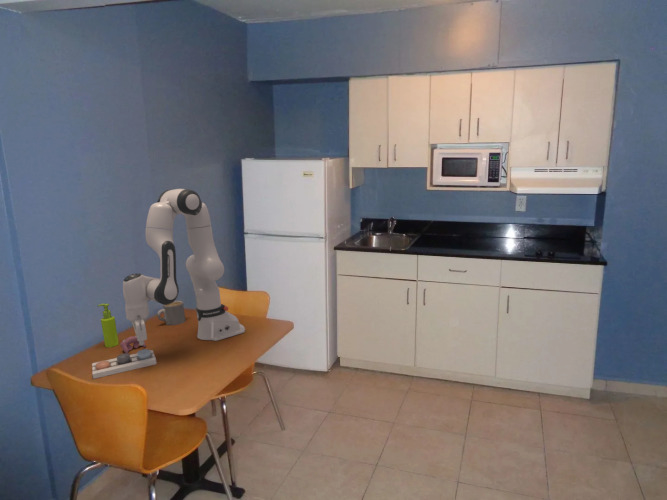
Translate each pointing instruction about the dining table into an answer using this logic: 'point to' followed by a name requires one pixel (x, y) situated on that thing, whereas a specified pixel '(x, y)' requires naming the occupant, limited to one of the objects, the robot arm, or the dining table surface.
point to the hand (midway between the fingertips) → (141, 344)
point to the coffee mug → (173, 313)
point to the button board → (124, 367)
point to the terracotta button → (102, 365)
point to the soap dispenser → (109, 327)
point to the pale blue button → (144, 354)
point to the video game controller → (127, 341)
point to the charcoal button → (123, 359)
